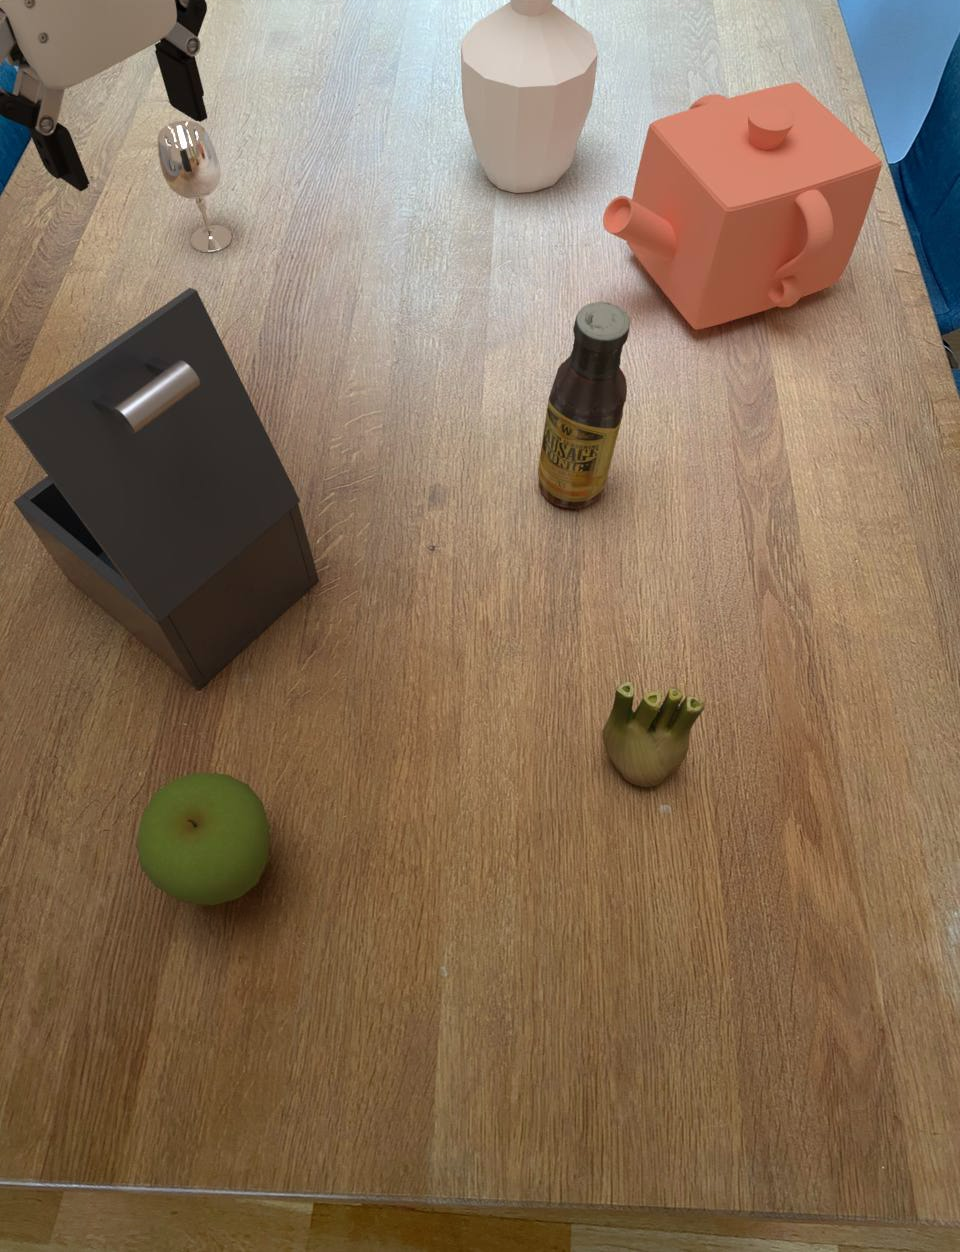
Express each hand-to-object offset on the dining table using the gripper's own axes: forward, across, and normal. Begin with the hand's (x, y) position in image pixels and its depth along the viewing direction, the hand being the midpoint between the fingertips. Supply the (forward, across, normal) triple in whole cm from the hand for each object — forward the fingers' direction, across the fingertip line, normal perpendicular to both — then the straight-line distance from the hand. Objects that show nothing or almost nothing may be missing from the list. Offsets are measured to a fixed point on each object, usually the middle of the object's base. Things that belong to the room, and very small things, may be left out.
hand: (132, 145), depth 62 cm
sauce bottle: (+31, -18, +26) cm, 44 cm away
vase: (+31, -50, -6) cm, 59 cm away
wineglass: (+31, -18, -25) cm, 43 cm away
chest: (+30, +12, +8) cm, 34 cm away
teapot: (+30, -47, +20) cm, 60 cm away
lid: (+11, +12, +14) cm, 21 cm away
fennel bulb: (+31, 0, +47) cm, 56 cm away
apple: (+31, +26, +30) cm, 50 cm away
